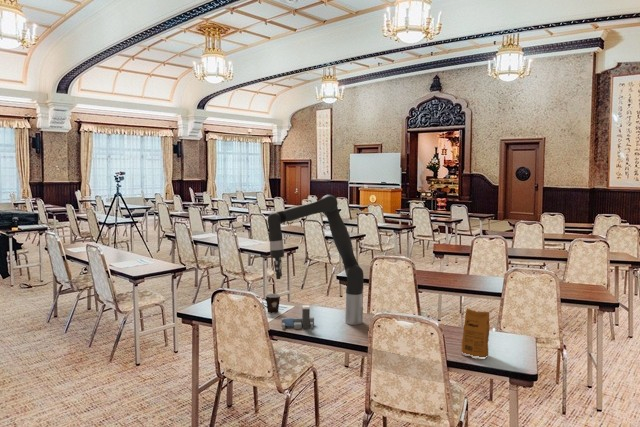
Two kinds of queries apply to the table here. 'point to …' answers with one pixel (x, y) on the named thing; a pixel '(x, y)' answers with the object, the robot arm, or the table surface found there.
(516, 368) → the table surface
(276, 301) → the coffee mug
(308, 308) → the plug
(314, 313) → the table surface
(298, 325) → the duct
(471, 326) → the coffee package
